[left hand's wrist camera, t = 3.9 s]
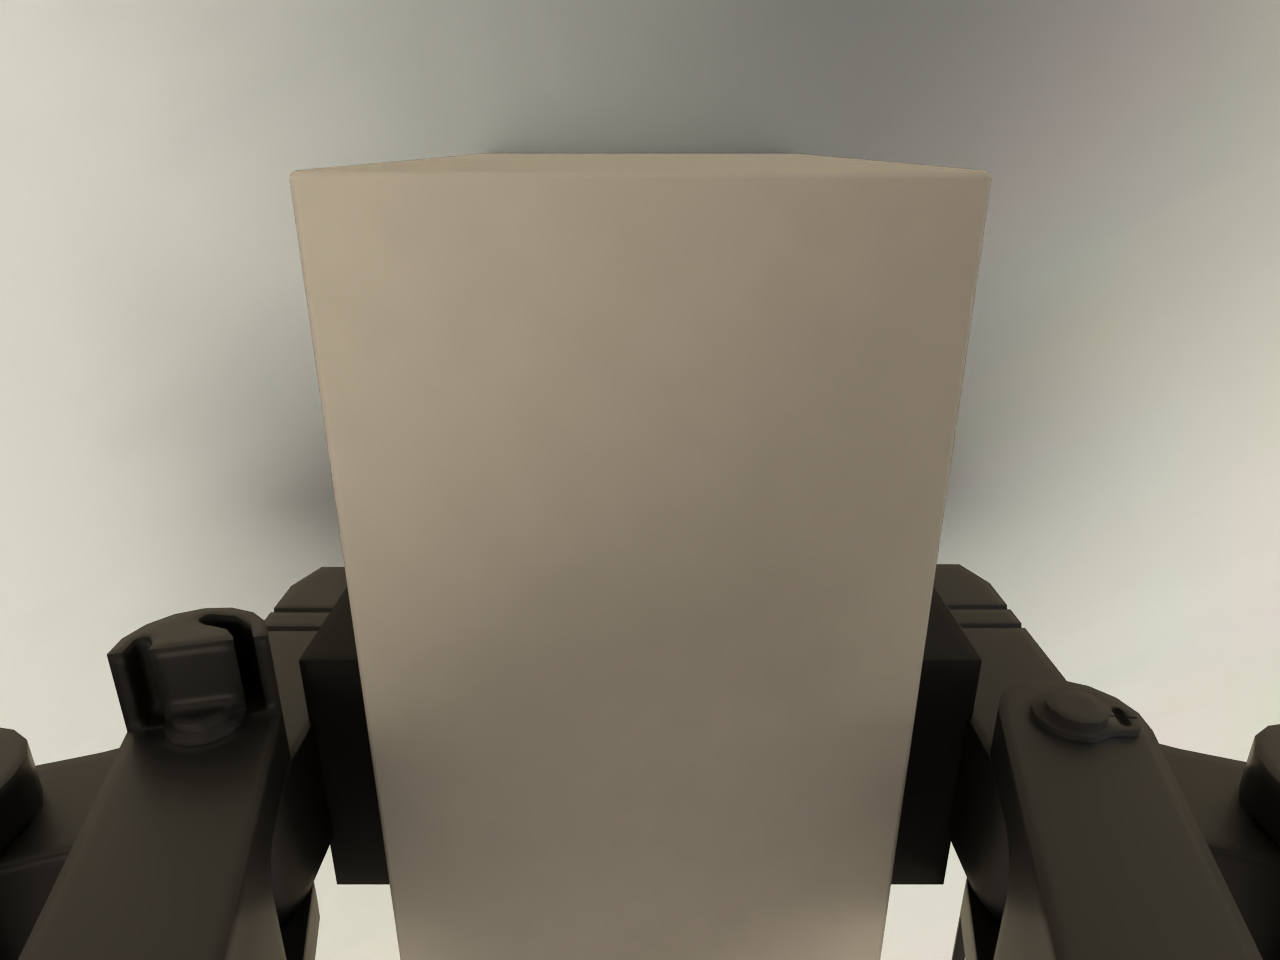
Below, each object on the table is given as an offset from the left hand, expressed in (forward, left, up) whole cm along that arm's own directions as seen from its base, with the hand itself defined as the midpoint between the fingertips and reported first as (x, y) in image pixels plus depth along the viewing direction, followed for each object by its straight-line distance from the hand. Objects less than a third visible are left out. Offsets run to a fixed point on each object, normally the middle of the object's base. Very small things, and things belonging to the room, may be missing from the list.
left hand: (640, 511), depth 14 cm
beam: (+18, +8, -1) cm, 20 cm away
